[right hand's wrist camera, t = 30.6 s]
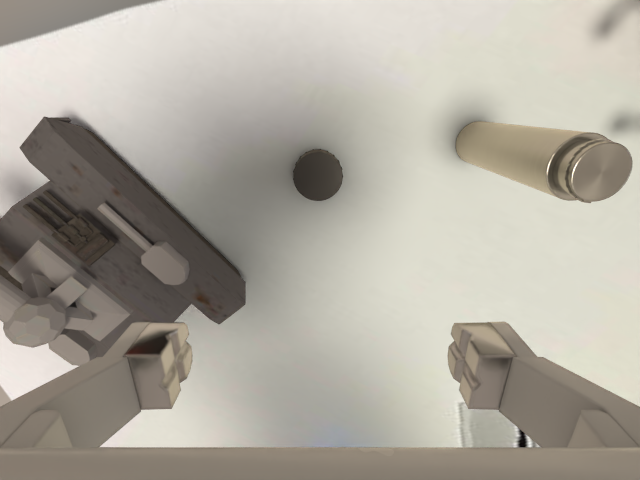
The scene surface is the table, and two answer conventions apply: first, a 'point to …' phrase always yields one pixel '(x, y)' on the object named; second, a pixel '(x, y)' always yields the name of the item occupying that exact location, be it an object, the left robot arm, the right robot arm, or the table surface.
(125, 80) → the table surface
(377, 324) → the table surface
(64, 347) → the toy
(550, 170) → the metal thermos flask
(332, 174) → the lid
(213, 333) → the table surface
